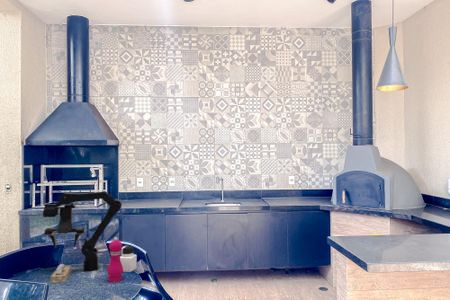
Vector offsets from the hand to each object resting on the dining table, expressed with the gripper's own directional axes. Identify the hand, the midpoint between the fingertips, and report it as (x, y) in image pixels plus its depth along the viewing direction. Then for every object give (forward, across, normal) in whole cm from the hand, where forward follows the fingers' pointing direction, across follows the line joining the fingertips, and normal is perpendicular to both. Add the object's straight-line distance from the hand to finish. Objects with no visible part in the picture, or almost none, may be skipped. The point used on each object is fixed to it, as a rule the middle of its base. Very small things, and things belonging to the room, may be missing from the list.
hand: (65, 247), depth 177 cm
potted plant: (+12, +31, -6) cm, 34 cm away
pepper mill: (+12, +26, -21) cm, 36 cm away
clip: (+12, +1, -13) cm, 18 cm away
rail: (+12, 0, -10) cm, 16 cm away
